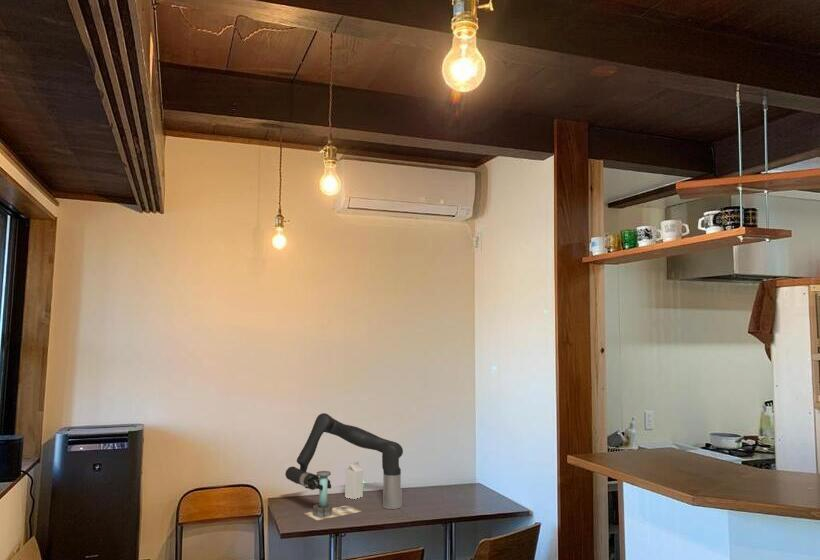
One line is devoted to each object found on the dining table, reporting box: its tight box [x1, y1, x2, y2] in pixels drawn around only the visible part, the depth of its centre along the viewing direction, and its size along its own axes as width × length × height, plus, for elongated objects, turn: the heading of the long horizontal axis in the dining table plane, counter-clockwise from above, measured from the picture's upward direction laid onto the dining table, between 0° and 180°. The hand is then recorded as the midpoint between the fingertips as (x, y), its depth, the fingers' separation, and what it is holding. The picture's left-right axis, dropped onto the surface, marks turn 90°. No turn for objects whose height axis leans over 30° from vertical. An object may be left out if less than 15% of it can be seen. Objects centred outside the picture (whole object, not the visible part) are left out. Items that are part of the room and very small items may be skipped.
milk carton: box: [344, 461, 364, 500], centre depth 341 cm, size 7×7×19 cm
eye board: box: [303, 503, 363, 521], centre depth 306 cm, size 26×14×6 cm, turn 128°
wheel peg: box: [316, 470, 332, 508], centre depth 303 cm, size 7×7×17 cm
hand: (326, 487), depth 301 cm, fingers closed on wheel peg, 4 cm apart
